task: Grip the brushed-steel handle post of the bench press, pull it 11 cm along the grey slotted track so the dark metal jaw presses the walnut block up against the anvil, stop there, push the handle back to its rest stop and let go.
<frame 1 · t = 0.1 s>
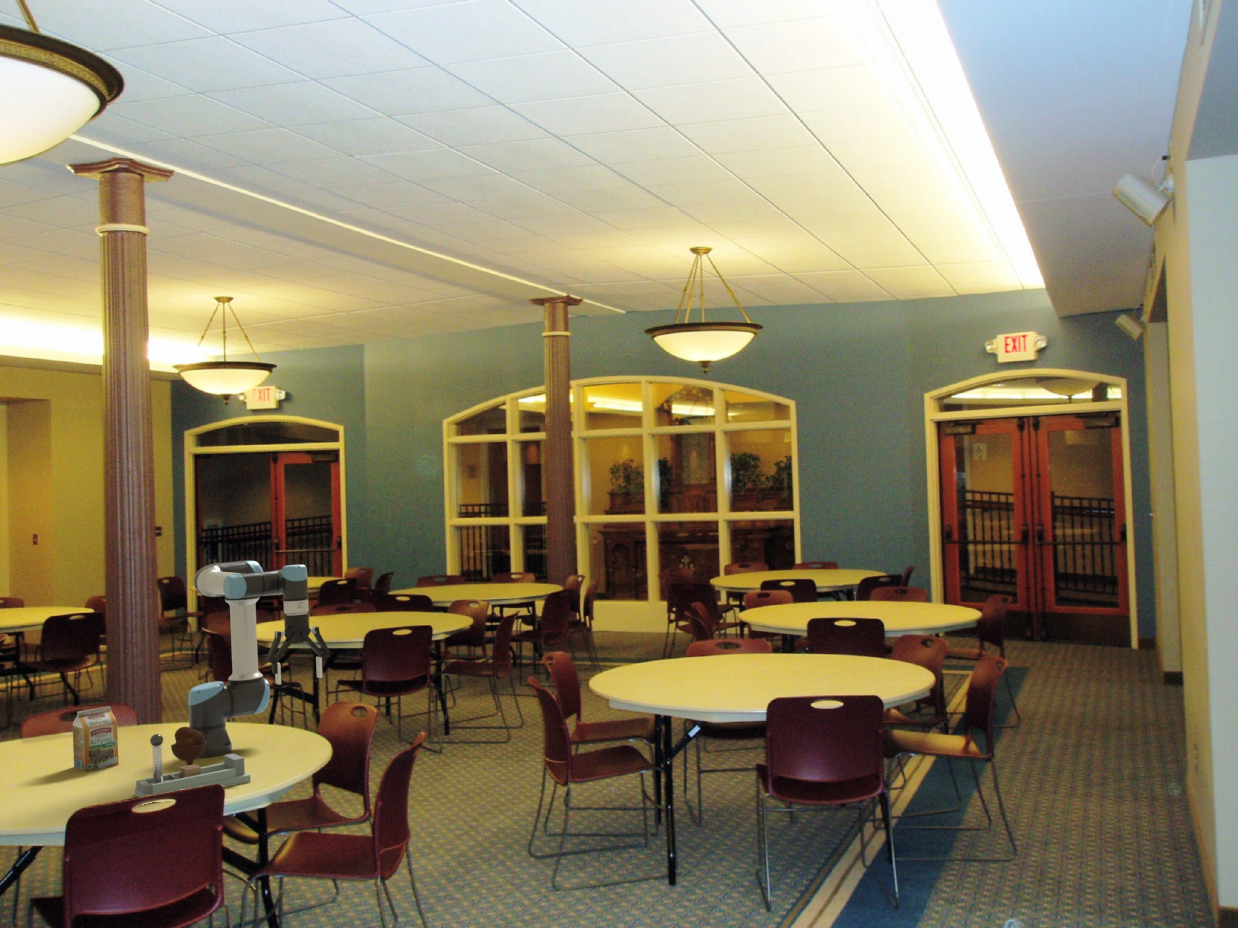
hand: (299, 680, 343), 28 cm above the table, fingers open, 13 cm apart
grey slotted track: (193, 787, 326), on the table
milk carton: (96, 766, 361), on the table
ice cream bowl: (190, 774, 344), on the table
lever: (162, 759, 321), point 10 cm above the table, slide at 0.0 cm
walnut block: (190, 781, 326), point 2 cm above the table, touching grey slotted track
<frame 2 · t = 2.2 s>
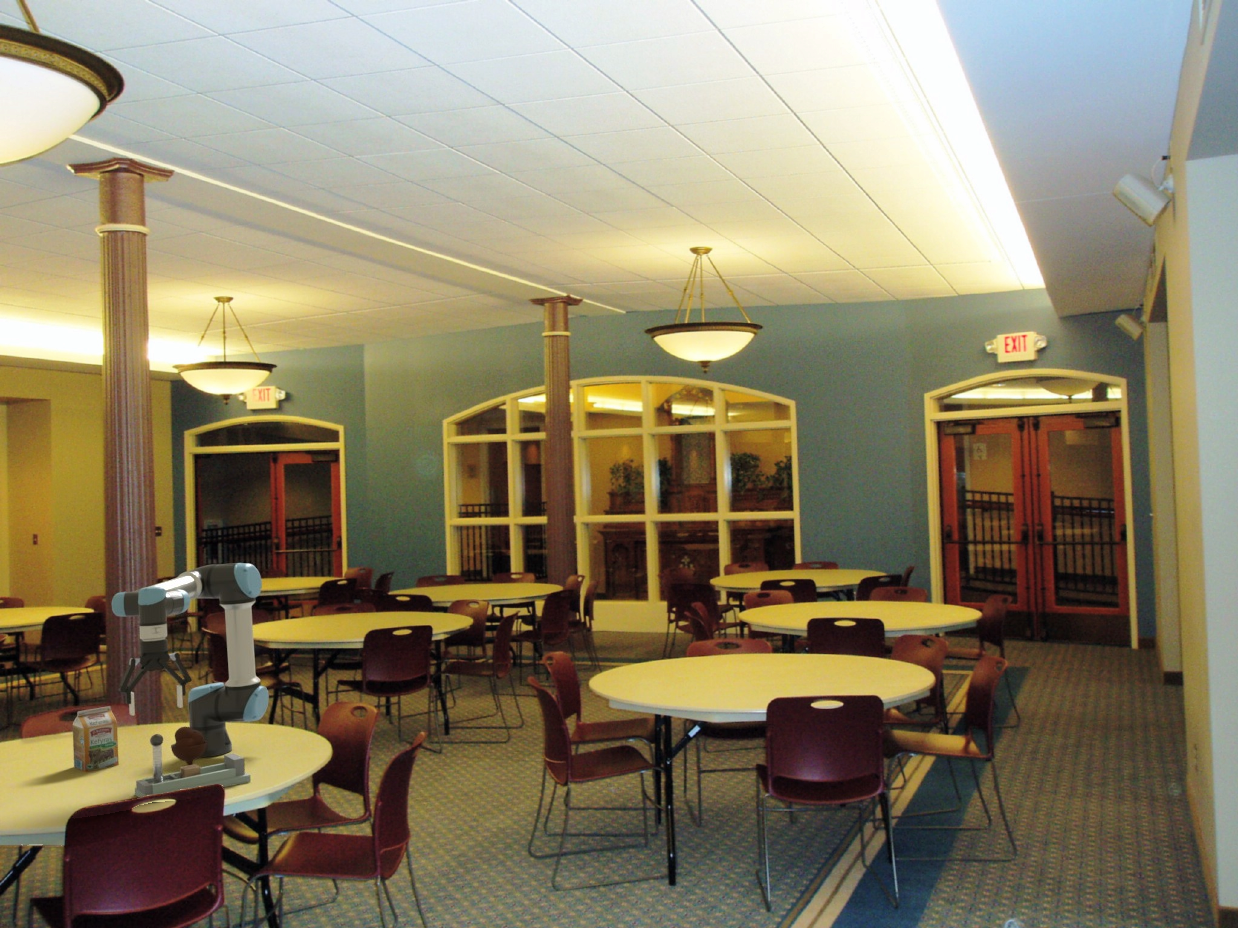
hand: (156, 710, 320), 25 cm above the table, fingers open, 13 cm apart
nothing on the table moved.
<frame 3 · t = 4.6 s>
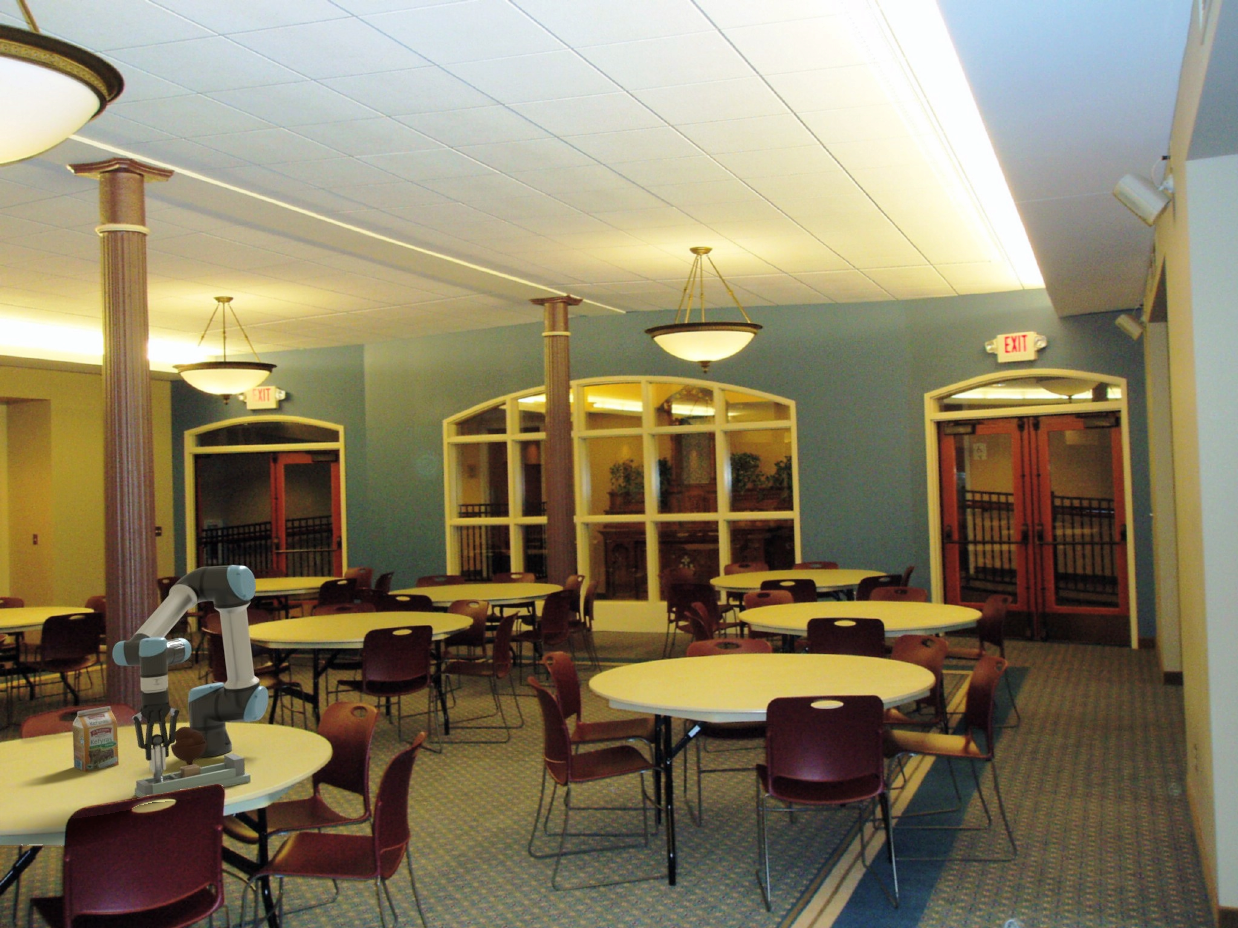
hand: (157, 769, 320), 8 cm above the table, fingers closed on lever, 2 cm apart
lever: (162, 759, 321), point 10 cm above the table, slide at 0.0 cm, touching gripper
everything else where it was.
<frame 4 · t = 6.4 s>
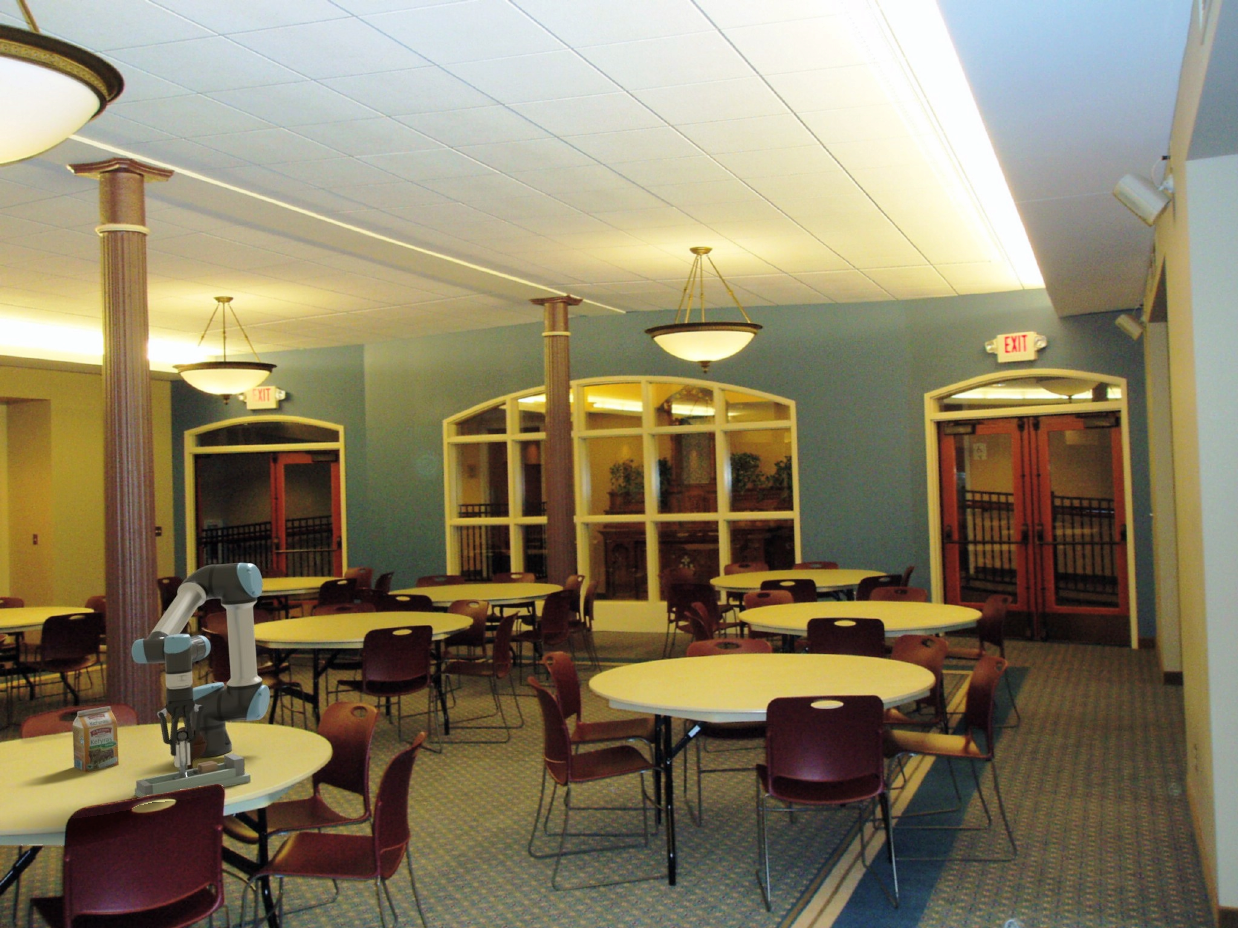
hand: (182, 764, 324), 8 cm above the table, fingers closed on lever, 2 cm apart
lever: (187, 755, 325), point 10 cm above the table, slide at 7.1 cm, touching gripper
walnut block: (207, 778, 329), point 2 cm above the table
everything else where it was.
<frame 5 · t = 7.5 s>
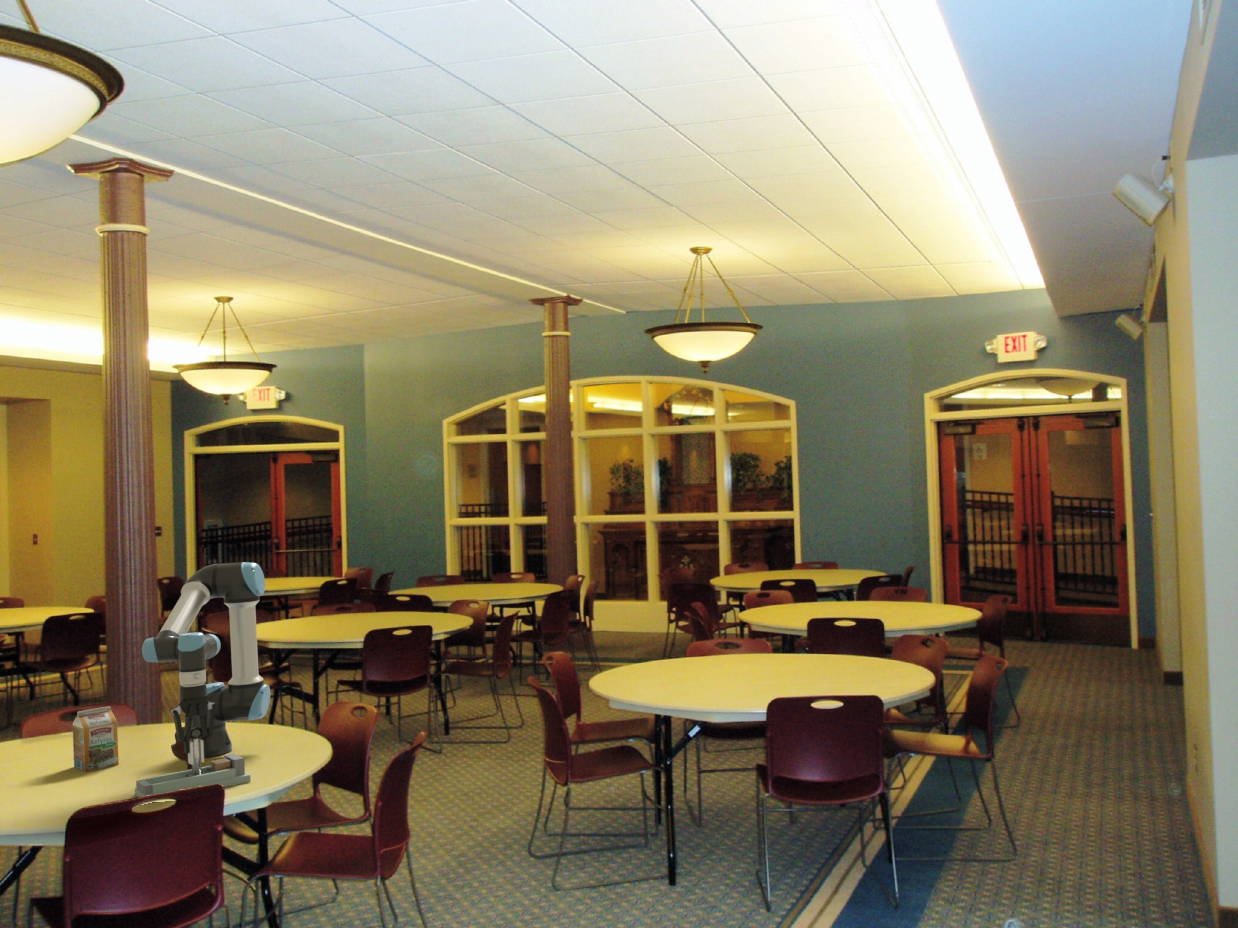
hand: (196, 762, 327), 8 cm above the table, fingers closed on lever, 2 cm apart
lever: (200, 752, 328), point 10 cm above the table, slide at 11.1 cm, touching gripper, walnut block
walnut block: (221, 775, 331), point 2 cm above the table, touching grey slotted track, lever
everything else where it was.
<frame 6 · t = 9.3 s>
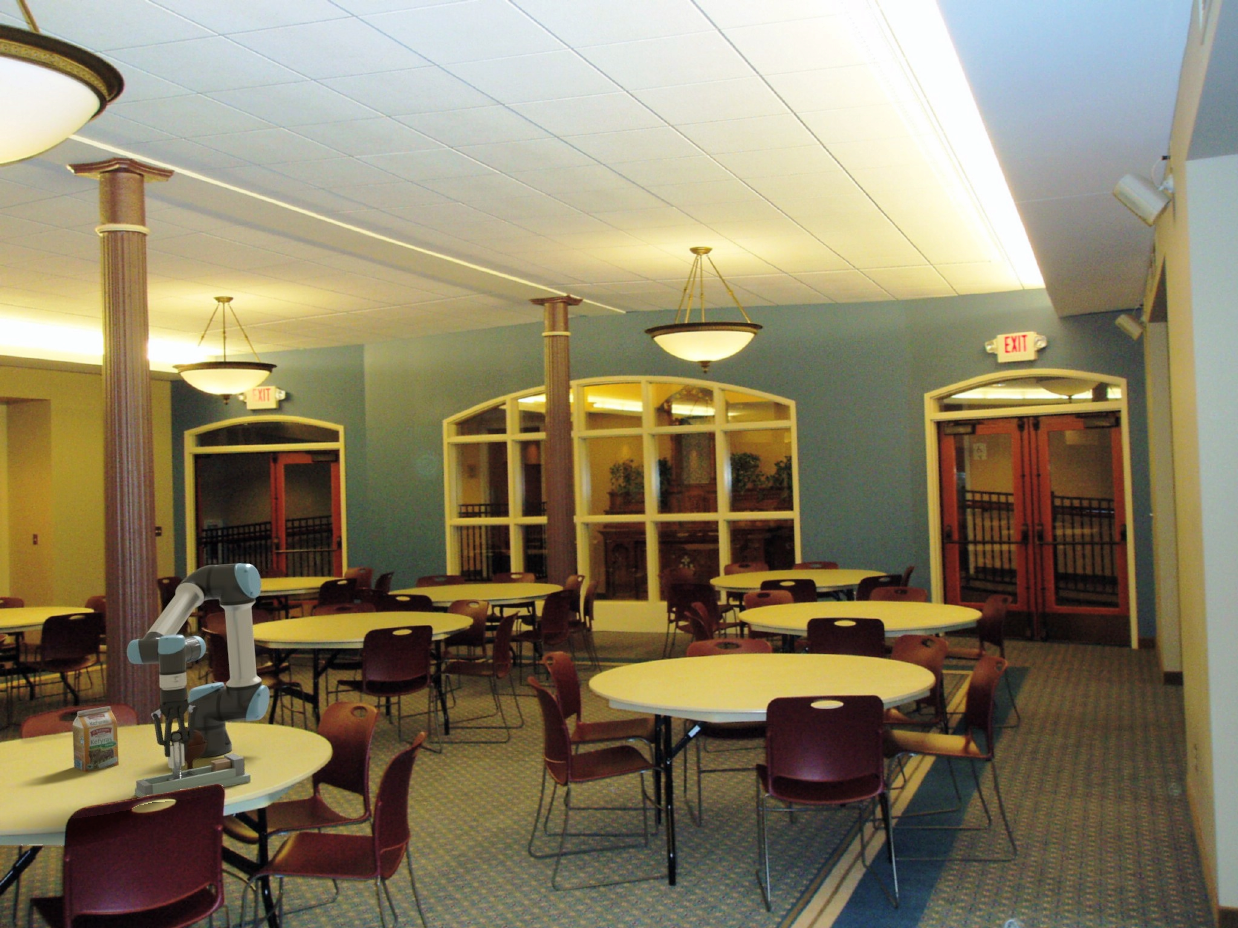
hand: (176, 765, 323), 8 cm above the table, fingers closed on lever, 2 cm apart
lever: (181, 756, 324), point 10 cm above the table, slide at 5.4 cm, touching gripper
walnut block: (221, 775, 331), point 2 cm above the table, touching grey slotted track
everything else where it was.
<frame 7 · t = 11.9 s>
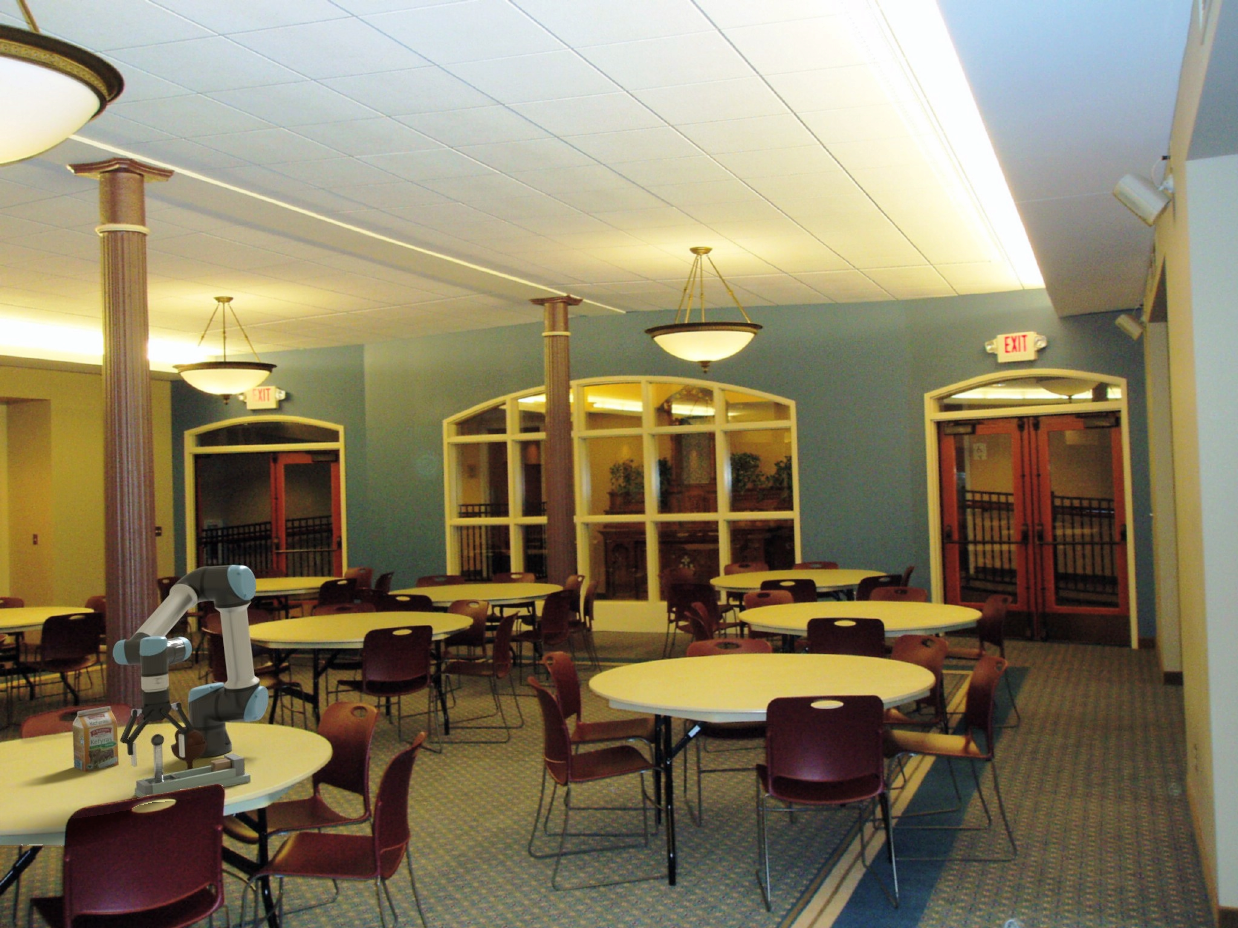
hand: (158, 761, 320), 10 cm above the table, fingers open, 13 cm apart
lever: (163, 759, 321), point 10 cm above the table, slide at 0.2 cm
everything else where it was.
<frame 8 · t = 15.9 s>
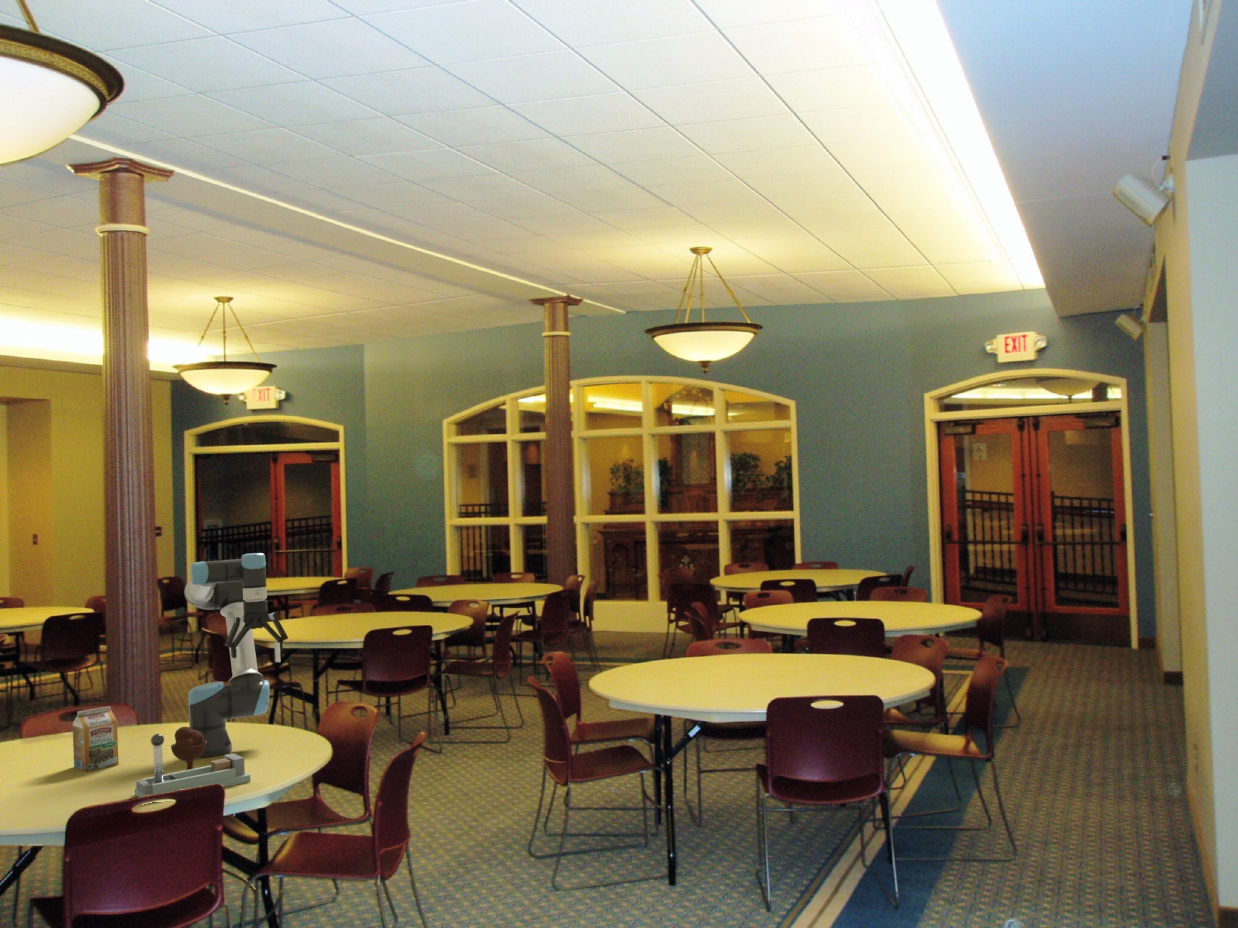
hand: (257, 664, 356), 32 cm above the table, fingers open, 13 cm apart
nothing on the table moved.
at the end: walnut block 0.3 cm from the target spot on the grey slotted track, point 2.0 cm above the grey slotted track's base; lever slide at 0.2 cm; the gripper is holding nothing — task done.
